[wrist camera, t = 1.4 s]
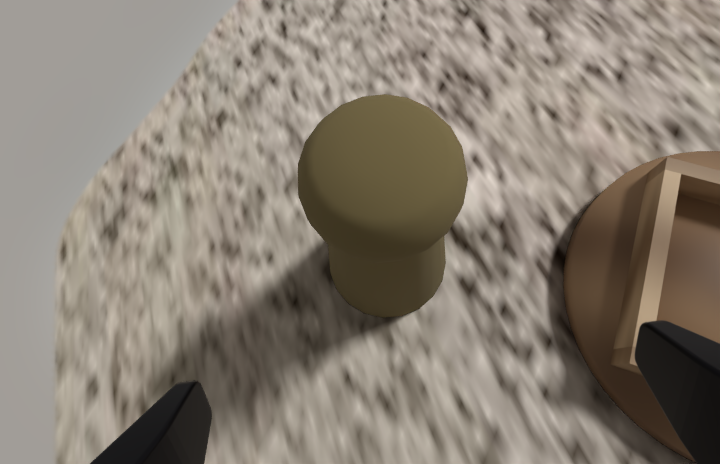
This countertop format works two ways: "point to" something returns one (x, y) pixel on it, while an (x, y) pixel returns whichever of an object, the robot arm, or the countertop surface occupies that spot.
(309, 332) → the countertop surface
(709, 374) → the robot arm
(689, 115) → the countertop surface
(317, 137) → the pepper shaker
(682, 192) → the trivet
